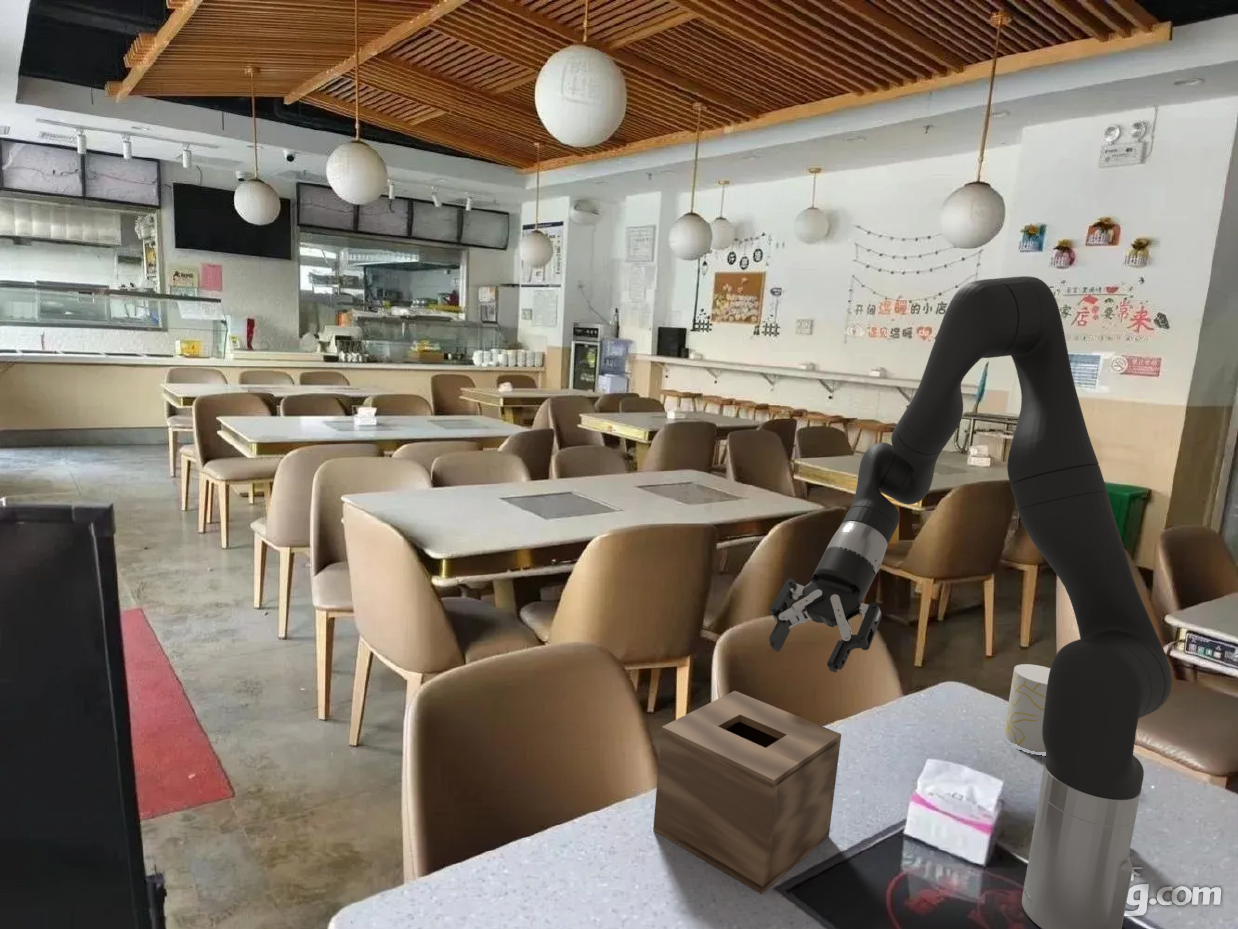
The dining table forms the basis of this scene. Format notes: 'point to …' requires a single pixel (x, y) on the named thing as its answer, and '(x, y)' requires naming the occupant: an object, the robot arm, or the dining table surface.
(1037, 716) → the cup
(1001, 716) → the dining table surface
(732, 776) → the box
